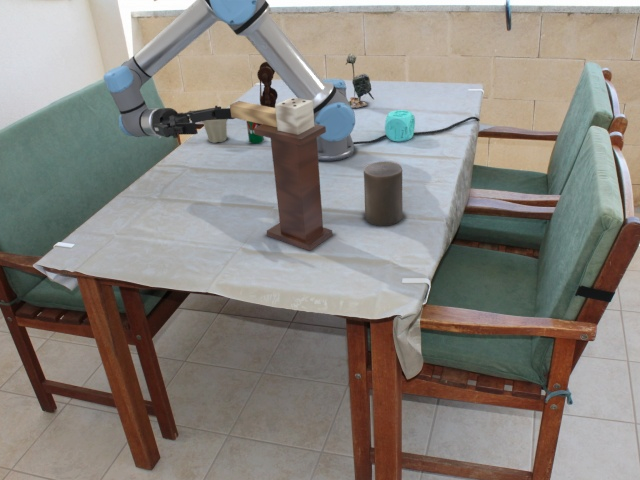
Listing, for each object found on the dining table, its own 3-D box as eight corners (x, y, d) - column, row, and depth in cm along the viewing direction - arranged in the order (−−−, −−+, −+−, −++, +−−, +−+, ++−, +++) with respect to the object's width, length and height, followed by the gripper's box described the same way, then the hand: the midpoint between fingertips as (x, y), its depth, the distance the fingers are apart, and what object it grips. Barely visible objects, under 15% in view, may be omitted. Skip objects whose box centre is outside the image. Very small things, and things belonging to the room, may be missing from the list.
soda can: (266, 139, 221) (262, 105, 214) (260, 145, 217) (256, 110, 210) (252, 138, 222) (248, 104, 216) (246, 144, 218) (242, 109, 212)
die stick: (314, 126, 146) (312, 99, 143) (297, 135, 143) (295, 107, 139) (244, 111, 158) (241, 86, 155) (227, 119, 155) (223, 93, 151)
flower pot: (226, 145, 218) (222, 120, 214) (200, 144, 220) (196, 120, 216) (234, 135, 226) (231, 111, 222) (209, 134, 228) (205, 111, 224)
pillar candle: (392, 229, 162) (391, 174, 154) (358, 221, 167) (356, 167, 159) (408, 212, 169) (409, 159, 161) (375, 205, 174) (374, 153, 166)
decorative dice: (384, 140, 213) (384, 117, 208) (391, 132, 219) (391, 109, 215) (408, 142, 210) (408, 119, 206) (414, 133, 216) (415, 110, 212)
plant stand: (332, 235, 162) (325, 126, 146) (310, 251, 156) (300, 138, 141) (289, 221, 169) (279, 116, 154) (266, 236, 163) (253, 128, 148)
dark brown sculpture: (253, 113, 245) (247, 60, 234) (292, 111, 244) (287, 57, 233) (249, 127, 232) (242, 71, 221) (289, 125, 231) (284, 68, 221)
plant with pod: (371, 109, 240) (370, 54, 229) (341, 108, 243) (339, 54, 232) (375, 102, 246) (374, 48, 236) (346, 101, 249) (344, 48, 239)
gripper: (198, 123, 186) (251, 121, 173) (129, 149, 169) (182, 150, 156) (191, 97, 183) (244, 93, 170) (120, 121, 166) (173, 119, 153)
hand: (214, 120), depth 163 cm, fingers open, 13 cm apart
